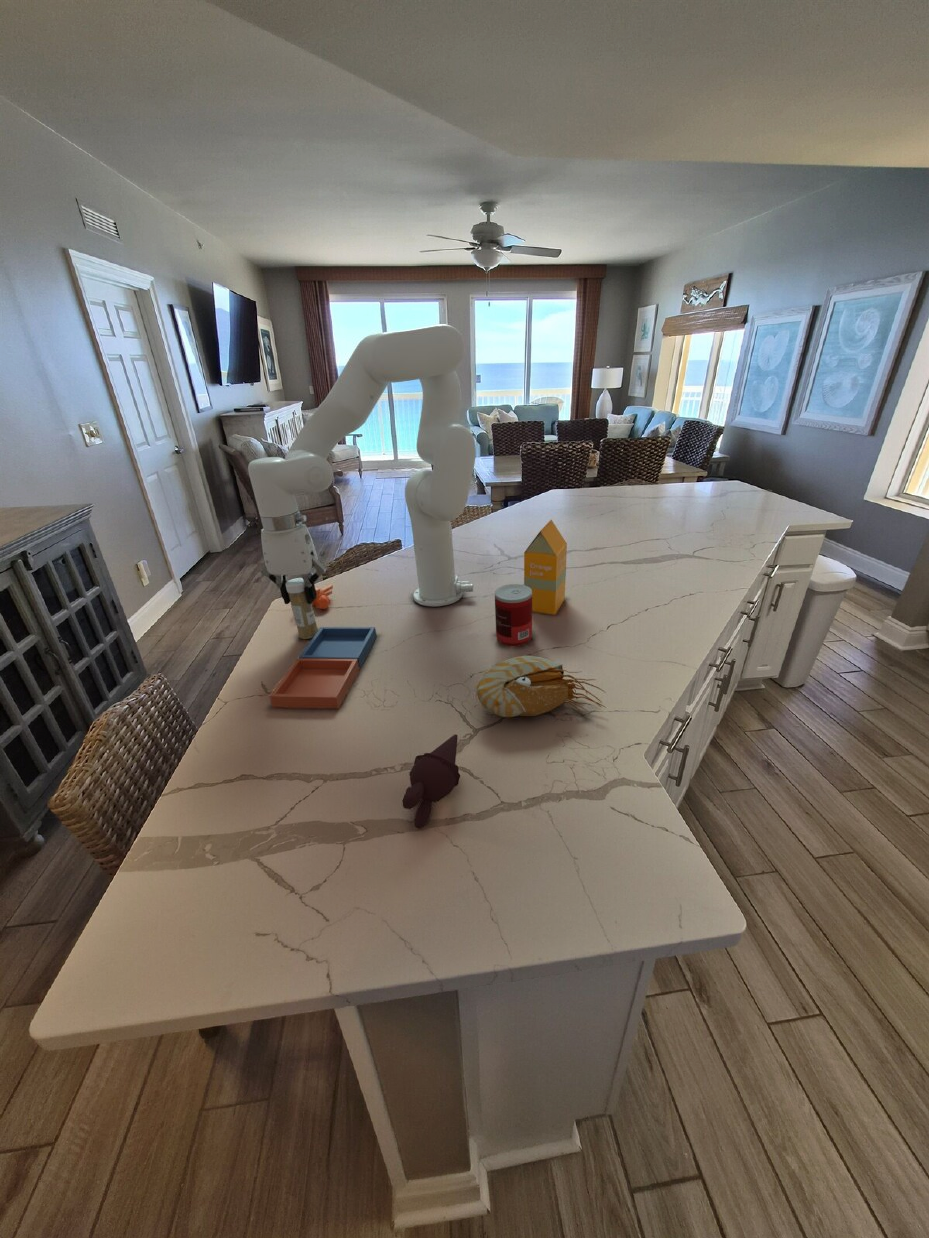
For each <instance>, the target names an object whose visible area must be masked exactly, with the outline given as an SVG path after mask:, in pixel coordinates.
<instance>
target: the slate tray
mask: <svg viewBox="0 0 929 1238" xmlns="http://www.w3.org/2000/svg"><path fill="white" fill-rule="evenodd" d="M377 637H378V636H377V630H376V627H375V626H321V627H319V629H318V632H317V633H316V635H315V636H314V637H313V638H311V640H310V641H309V642H308V643H307V645H306V646H305V647H304V649H303V650H302V652H301V653H300V655H299V656H298V658H310V659H358V664H359V669H361V668H362V665H363V664H364V661H365V659H366V658H367V656H368V654H369V653H370V650H371V648H372V647H373V645H374V643H375V641H376V639H377Z"/></svg>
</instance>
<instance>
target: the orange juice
mask: <svg viewBox="0 0 929 1238" xmlns="http://www.w3.org/2000/svg"><path fill="white" fill-rule="evenodd" d="M567 549H568V543H567V541H566V540H565V539H564V537H563V535H562V534H561V532H560V530H559V529H558V527H557V526H556V524H555V522H554V521H553V519H550V520H549V521H548V522H547V523H546V524H545V525H544V527H542V528H541V529H540V531H538V533H537V535H536V536H535V537H534V539H532V541H531V543H530V544H529V545H528V546H527V548H526V549H525V551H524V552H523V585H525V586H527V587H529V588H530V589H531V590H532V612H534V613H542V614H548V615H554V616H555V615H556V614H557V613H558V611H559V609H560V608H561V606H562V604H563V603H564V601H565V599H566V579H567V578H566V577H567V554H568V553H567V552H568V551H567Z"/></svg>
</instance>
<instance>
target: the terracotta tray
mask: <svg viewBox="0 0 929 1238" xmlns="http://www.w3.org/2000/svg"><path fill="white" fill-rule="evenodd" d="M359 672H360V668H359V664H358V659H310V658H299V657H298V658H296V659H295V661H294V662H293V664H292V665H291V666H290V667H289V668H288V671H287V672H286V673H285V674H284V676H283V677H282V678H281V680H280V681H279V682H278V684H277V685H276V686H275V688H274V689H273V690H272V692H271V693H270V695H269V696H268V697H269V700H270V703H271V707H272V708H287V709H288V708H289V709H291V708H293V709H294V708H295V709H334V710H335V709H336V710H337V709H338V710H339V709H340V707H341V705H342V703H343V701H344V700H345V697H346V695H347V694H348V692H349V690H350V688H351V686H352V684H353V683H354V681H355V679H356V677H357V675H358V673H359Z"/></svg>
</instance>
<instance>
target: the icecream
mask: <svg viewBox="0 0 929 1238" xmlns="http://www.w3.org/2000/svg"><path fill="white" fill-rule="evenodd" d="M458 737H459V736H458V734H456V733H455V734H453V735H451V737H449V738H447V739H446V740H445V741H444V742H442V743H441V744H440V745H438V747H436V748H434V749H433V750H432V751H431V752H425V753H424V754H418V755H416V756H415V757H414V762H413V765H412V767H411V769H410V771H409V772H408V776H409V783H410V786H408V787H407V788H406V789H405V793H404V794H403V796H402V800H401V803H402V808H403V809H405V810H412V809H414V808H416V807H417V806H418V805H419V806H418V807H417V808H416V809H417V810H416V813H415V816H414V820H413V826H414V828H415V829H419V830H420V829H422V828H424V827H425V826H426V825H427V824H428V822H429V821H430V818H431V815H432V810H433V803H437V802H440V801H441V800H443V799H444V798H445V797H448V796H449V795H450V794H451V793H453V790H454V789H455V788H456V787H457V786H458V785H459V783H460V779H461V773H460V768H459V766H458V764H456V759H457V746H458V740H459V739H458Z"/></svg>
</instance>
